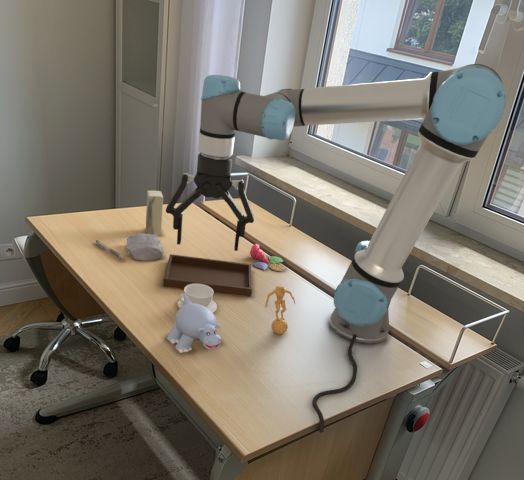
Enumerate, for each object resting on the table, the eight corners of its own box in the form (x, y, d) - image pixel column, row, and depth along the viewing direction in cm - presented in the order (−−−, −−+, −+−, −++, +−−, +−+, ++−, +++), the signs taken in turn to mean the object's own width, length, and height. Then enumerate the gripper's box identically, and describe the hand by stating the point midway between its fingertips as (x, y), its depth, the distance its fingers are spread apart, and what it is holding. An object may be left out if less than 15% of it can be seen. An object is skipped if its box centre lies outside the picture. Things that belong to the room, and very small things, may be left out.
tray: (250, 296, 148) (251, 289, 147) (162, 286, 146) (163, 278, 144) (250, 271, 161) (251, 264, 160) (169, 261, 158) (170, 254, 157)
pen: (97, 243, 161) (97, 238, 161) (125, 261, 154) (125, 256, 154) (94, 243, 161) (94, 239, 160) (122, 262, 154) (122, 257, 153)
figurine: (267, 339, 131) (275, 296, 125) (256, 326, 136) (263, 283, 129) (296, 335, 135) (305, 292, 128) (284, 322, 139) (293, 280, 133)
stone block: (132, 266, 156) (166, 259, 159) (128, 251, 153) (163, 243, 156) (125, 250, 165) (157, 243, 168) (121, 235, 162) (155, 228, 165)
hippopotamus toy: (191, 367, 118) (195, 330, 112) (160, 332, 127) (162, 296, 122) (233, 356, 124) (239, 320, 118) (200, 323, 133) (204, 288, 128)
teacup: (207, 295, 145) (209, 279, 143) (223, 314, 138) (225, 297, 136) (171, 299, 141) (172, 283, 138) (186, 319, 134) (187, 302, 131)
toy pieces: (243, 265, 164) (245, 251, 161) (252, 251, 173) (254, 238, 170) (281, 274, 162) (284, 261, 160) (289, 260, 171) (291, 247, 169)
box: (145, 229, 175) (146, 189, 168) (159, 229, 176) (160, 190, 169) (147, 236, 171) (148, 195, 164) (161, 236, 172) (163, 196, 165)
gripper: (271, 157, 123) (258, 244, 135) (159, 142, 121) (156, 233, 132) (272, 166, 117) (259, 257, 129) (155, 151, 115) (152, 245, 126)
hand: (207, 245), depth 131 cm, fingers open, 13 cm apart
